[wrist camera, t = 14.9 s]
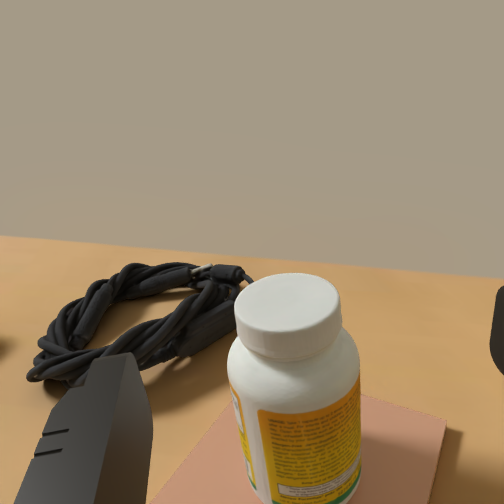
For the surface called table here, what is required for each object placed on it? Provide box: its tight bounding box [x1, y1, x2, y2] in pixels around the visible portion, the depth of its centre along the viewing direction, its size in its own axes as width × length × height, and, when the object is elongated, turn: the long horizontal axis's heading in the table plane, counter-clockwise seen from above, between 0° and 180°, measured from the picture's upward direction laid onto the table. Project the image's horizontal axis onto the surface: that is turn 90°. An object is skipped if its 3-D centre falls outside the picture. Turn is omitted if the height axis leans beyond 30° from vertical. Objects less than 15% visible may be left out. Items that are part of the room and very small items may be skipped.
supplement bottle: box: [227, 273, 362, 504], centre depth 18 cm, size 5×5×10 cm
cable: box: [26, 262, 254, 390], centre depth 33 cm, size 17×14×4 cm
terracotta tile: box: [150, 394, 447, 504], centre depth 20 cm, size 11×11×1 cm
